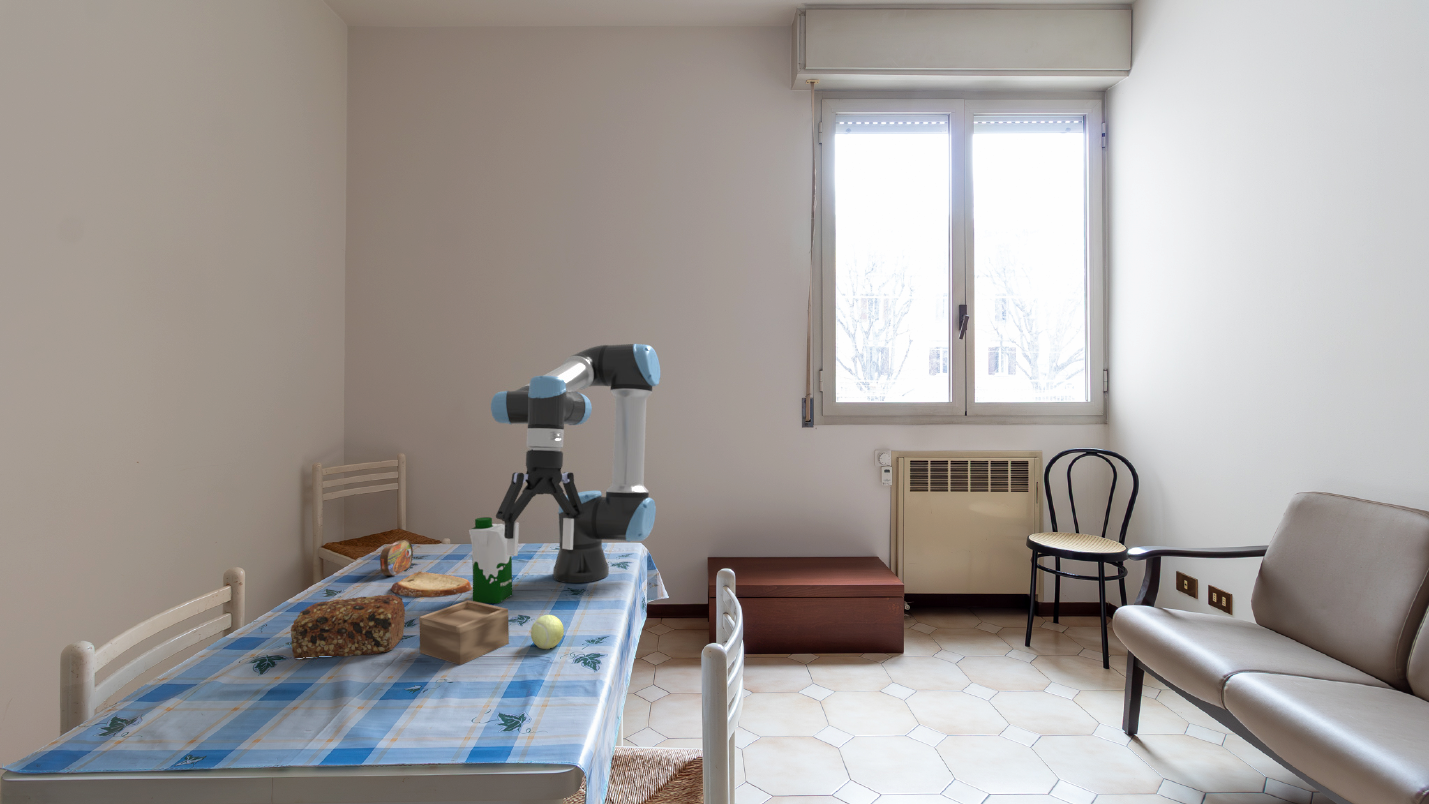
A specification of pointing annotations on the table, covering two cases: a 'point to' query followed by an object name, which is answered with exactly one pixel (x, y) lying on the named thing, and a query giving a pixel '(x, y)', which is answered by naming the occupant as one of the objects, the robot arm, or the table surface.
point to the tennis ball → (547, 631)
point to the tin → (396, 558)
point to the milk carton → (490, 562)
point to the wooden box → (463, 631)
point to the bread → (349, 627)
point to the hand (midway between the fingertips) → (540, 552)
